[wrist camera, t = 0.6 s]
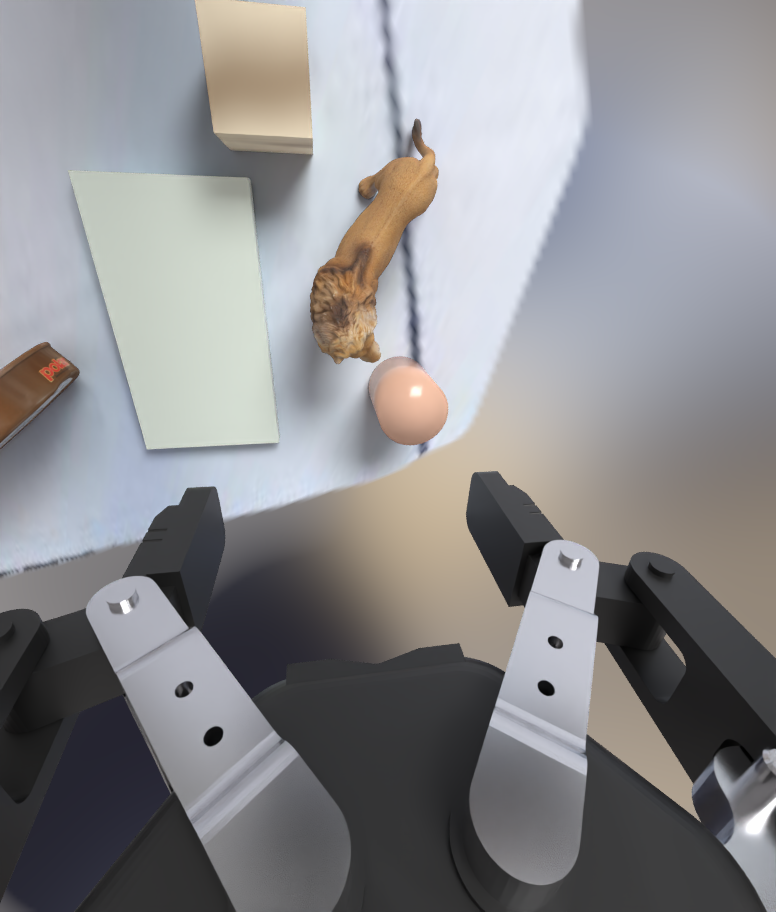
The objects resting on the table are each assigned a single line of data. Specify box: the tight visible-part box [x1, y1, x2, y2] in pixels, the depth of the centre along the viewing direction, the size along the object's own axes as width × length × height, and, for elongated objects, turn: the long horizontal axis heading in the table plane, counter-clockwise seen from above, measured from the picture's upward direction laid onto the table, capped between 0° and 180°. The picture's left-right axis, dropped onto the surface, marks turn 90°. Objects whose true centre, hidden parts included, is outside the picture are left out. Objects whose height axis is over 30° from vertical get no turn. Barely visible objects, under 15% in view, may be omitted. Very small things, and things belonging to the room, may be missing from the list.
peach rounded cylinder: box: [369, 356, 448, 445], centre depth 32 cm, size 5×5×6 cm
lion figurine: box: [310, 119, 439, 364], centre depth 25 cm, size 15×5×9 cm, turn 156°
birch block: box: [195, 0, 313, 154], centre depth 23 cm, size 5×5×5 cm
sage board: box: [68, 170, 280, 449], centre depth 29 cm, size 18×10×1 cm, turn 179°
